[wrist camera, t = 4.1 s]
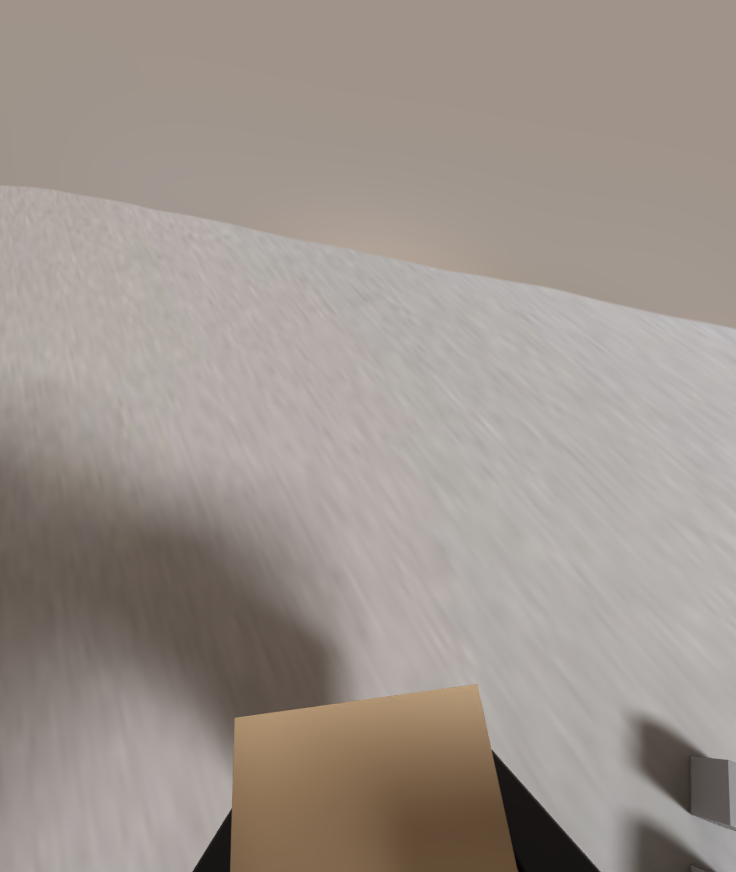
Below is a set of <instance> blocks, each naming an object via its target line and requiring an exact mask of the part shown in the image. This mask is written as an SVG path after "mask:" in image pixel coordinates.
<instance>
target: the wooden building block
mask: <svg viewBox="0 0 736 872" xmlns="http://www.w3.org/2000/svg"><path fill="white" fill-rule="evenodd" d="M230 872H518V870H517V866H516V861H515V857H514V852H513V847H512V843H511V838H510V833H509V829H508V824H507V820H506V815H505V810H504V806H503V801H502V796H501V792H500V787H499V783H498V778H497V773H496V769H495V764H494V759H493V755H492V750H491V746H490V741H489V736H488V732H487V727H486V722H485V718H484V713H483V709H482V704H481V699H480V695H479V690H478V685H477V684H475V685H468V686H460V687H453V688H446V689H439V690H431V691H424V692H417V693H410V694H403V695H395V696H388V697H381V698H374V699H366V700H359V701H352V702H345V703H337V704H330V705H323V706H316V707H309V708H301V709H294V710H287V711H280V712H272V713H265V714H258V715H251V716H244V717H236V718H235V723H234V757H233V792H232V826H231V861H230Z"/></svg>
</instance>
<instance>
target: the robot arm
mask: <svg viewBox="0 0 736 872" xmlns="http://www.w3.org/2000/svg"><path fill="white" fill-rule="evenodd" d="M491 750H492V749H491ZM492 755H493V759H494V764H495V769H496V773H497V778H498V783H499V787H500V792H501V796H502V801H503V806H504V810H505V815H506V820H507V824H508V829H509V833H510V838H511V843H512V847H513V852H514V857H515V861H516V866H517V870H518V872H600V871H599V870H598V868H597V867H596V866H595V865H594V864H593V863H592V862H591V861H590V859H589V858H588V857H587V856H586V855H585V854H584V853H583V852H582V850H581V849H580V848H579V847H578V846H577V845H576V844H575V843H574V841H573V840H572V839H571V838H570V837H569V836H568V835H567V834H566V832H565V831H564V830H563V829H562V828H561V827H560V826H559V825H558V823H557V822H556V821H555V820H554V819H553V818H552V817H551V816H550V815H549V813H548V812H547V811H546V810H545V809H544V808H543V807H542V806H541V804H540V803H539V802H538V801H537V800H536V799H535V798H534V797H533V795H532V794H531V793H530V792H529V791H528V790H527V789H526V788H525V786H524V785H523V784H522V783H521V782H520V781H519V780H518V779H517V777H516V776H515V775H514V774H513V773H512V772H511V771H510V770H509V768H508V767H507V766H506V765H505V764H504V763H503V762H502V761H501V759H500V758H499V757H498V756H497V755H496V754H495V753H494V752H493V750H492ZM231 826H232V809H231V810H230V812H229V814H228V815H227V817H226V818H225V820H224V822H223V823H222V825H221V827H220V828H219V830H218V831H217V833H216V835H215V836H214V838H213V839H212V841H211V843H210V844H209V846H208V848H207V849H206V851H205V852H204V854H203V856H202V857H201V859H200V860H199V862H198V864H197V865H196V867H195V868H194V870H193V872H230V861H231Z"/></svg>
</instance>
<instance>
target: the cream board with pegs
mask: <svg viewBox="0 0 736 872" xmlns="http://www.w3.org/2000/svg"><path fill="white" fill-rule="evenodd" d="M691 814H692V815H694V816H697V817H699V818H702V819H704V820H707V821H709V822H712V823H714V824H717V825H719V826H722V827H724V828H728V829H731V830H734V831H736V763H735V762H732V761H729V760H722V759H712V758H702V757H692V756H691ZM691 872H706V871H704V870H702V869H699V868H697V867H695V866H692V865H691Z"/></svg>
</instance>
